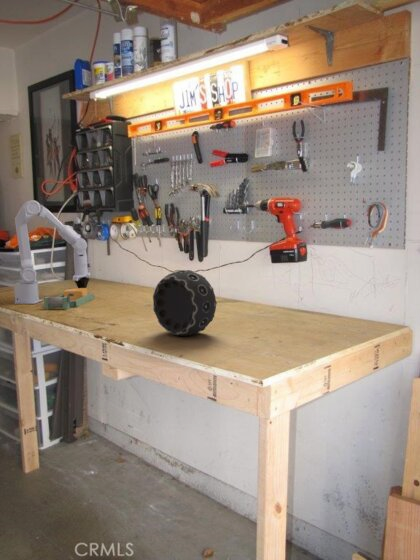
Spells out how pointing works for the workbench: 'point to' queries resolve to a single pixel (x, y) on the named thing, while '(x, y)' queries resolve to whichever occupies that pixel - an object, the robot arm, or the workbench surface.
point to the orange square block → (76, 293)
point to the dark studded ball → (184, 303)
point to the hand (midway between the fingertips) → (82, 294)
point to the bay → (66, 301)
